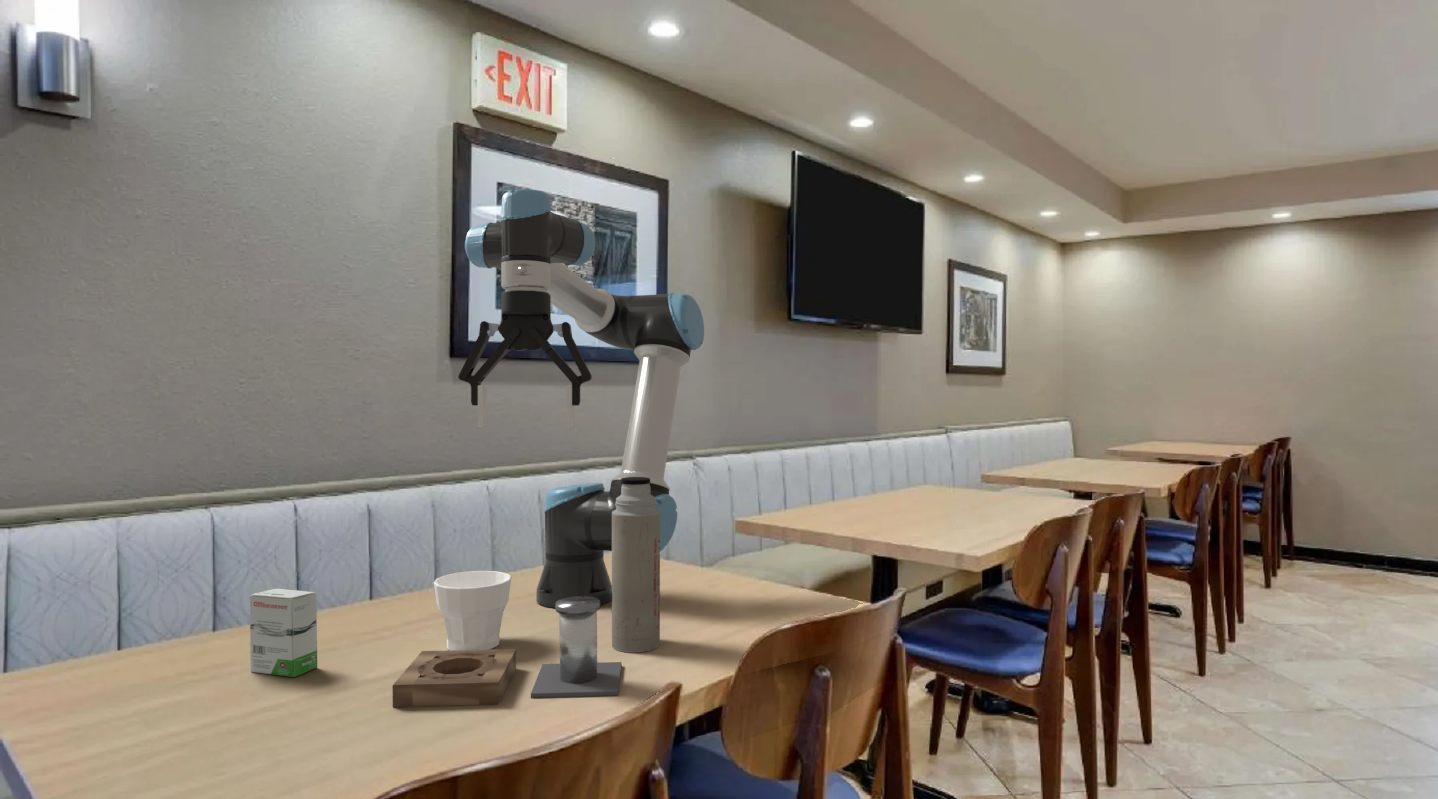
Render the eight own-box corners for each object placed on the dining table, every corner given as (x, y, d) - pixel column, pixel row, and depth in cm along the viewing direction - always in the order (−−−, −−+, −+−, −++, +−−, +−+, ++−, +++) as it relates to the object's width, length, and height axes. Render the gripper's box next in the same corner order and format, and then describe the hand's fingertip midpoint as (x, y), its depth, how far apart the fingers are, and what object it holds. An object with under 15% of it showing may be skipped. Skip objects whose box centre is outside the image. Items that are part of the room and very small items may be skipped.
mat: (542, 667, 125) (542, 663, 125) (621, 665, 126) (621, 662, 126) (530, 697, 113) (530, 693, 113) (617, 695, 114) (617, 691, 114)
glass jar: (559, 669, 123) (558, 596, 122) (602, 668, 123) (601, 595, 123) (553, 685, 116) (552, 608, 116) (598, 683, 117) (597, 607, 116)
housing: (422, 670, 124) (422, 651, 124) (516, 668, 125) (516, 648, 125) (392, 707, 110) (392, 685, 110) (498, 704, 111) (498, 682, 111)
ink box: (319, 668, 125) (318, 590, 125) (293, 678, 120) (292, 598, 120) (275, 661, 128) (275, 586, 128) (248, 672, 123) (247, 593, 123)
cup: (527, 639, 139) (527, 574, 139) (476, 661, 128) (476, 591, 128) (470, 629, 144) (470, 567, 144) (417, 650, 133) (416, 583, 133)
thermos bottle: (665, 639, 139) (665, 475, 139) (652, 654, 132) (652, 480, 131) (620, 636, 141) (620, 474, 140) (605, 651, 133) (605, 479, 133)
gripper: (438, 287, 123) (438, 428, 123) (604, 289, 125) (605, 427, 125) (450, 293, 131) (451, 425, 131) (607, 294, 133) (607, 425, 133)
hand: (526, 427), depth 128 cm, fingers open, 13 cm apart
